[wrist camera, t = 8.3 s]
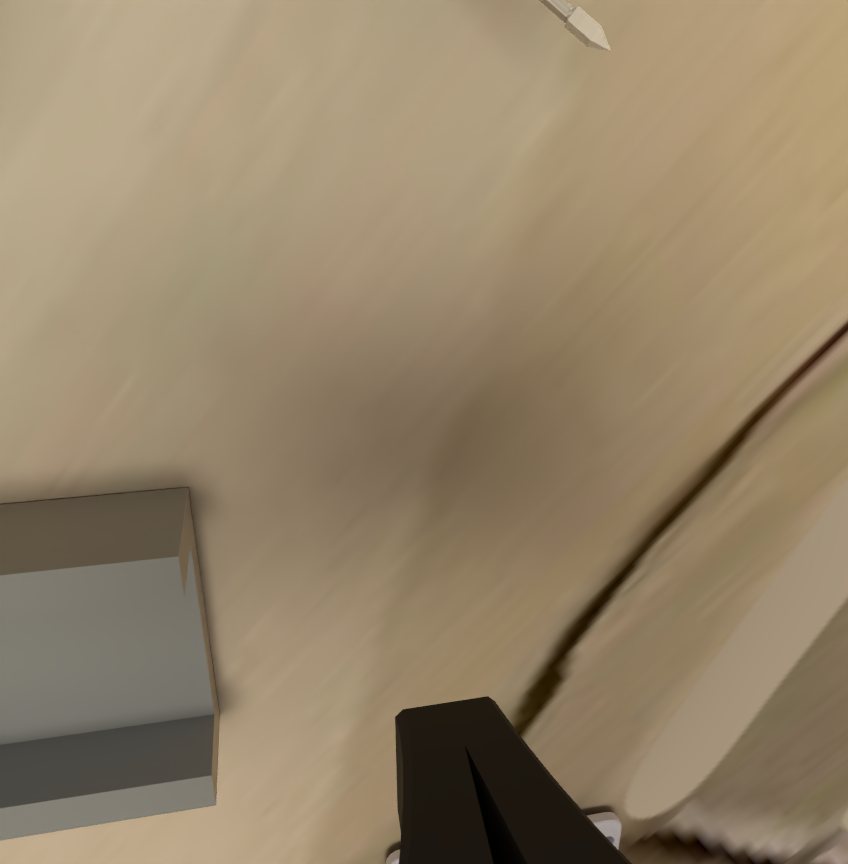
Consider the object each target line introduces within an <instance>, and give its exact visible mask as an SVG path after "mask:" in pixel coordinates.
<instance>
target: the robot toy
mask: <svg viewBox="0 0 848 864" xmlns="http://www.w3.org/2000/svg"><path fill="white" fill-rule="evenodd" d="M540 1H541V2H542V3H543V4H544V5H545V6H547V7H548V8H549V9H550V10H551V11H552V12H553V13H555V14H556V15H557V16H558V17H559V18H560V19H561V20H563V21H564V22H565V23H566V24H565V28H567V29H568V30H569V31H570V32H571V33H572V34H573V35H575V36H576V37H577V38H578V39H579V40H580V41H581V42H583V43H584V44H585V45H586V46H588V47H593V48H598V49H602V50H607V51H611V49H610V47H609V44H608V42H607V39H606V37H605V34H604V32H603V29H602V27H601V25H600V24H599V23H597V22H596V21H595V20H594V19H593V18H592V17H591V16H589V15H588V14H587V13H586V12H585V11H584V10H583V9H581V8H580V7H579V6H578V7H577V8H575V7H574V6H572V5H571V4H570V3H569V2H568V1H567V0H540Z"/></svg>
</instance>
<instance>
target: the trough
mask: <svg viewBox="0 0 848 864" xmlns="http://www.w3.org/2000/svg"><path fill="white" fill-rule="evenodd" d="M219 720H220V714H219V707H218V700H217V692H216V685H215V678H214V671H213V664H212V656H211V649H210V642H209V635H208V628H207V621H206V613H205V606H204V599H203V592H202V585H201V577H200V570H199V563H198V556H197V549H196V542H195V534H194V527H193V520H192V513H191V506H190V498H189V491H188V487H187V488H176V489H165V490H154V491H143V492H132V493H121V494H110V495H99V496H88V497H77V498H66V499H55V500H44V501H33V502H22V503H11V504H0V840H6V839H12V838H18V837H24V836H30V835H37V834H43V833H49V832H55V831H61V830H67V829H73V828H79V827H86V826H92V825H98V824H104V823H110V822H116V821H122V820H128V819H134V818H141V817H147V816H153V815H159V814H165V813H171V812H177V811H183V810H190V809H196V808H202V807H208V806H214V805H216V794H217V769H218V745H219Z"/></svg>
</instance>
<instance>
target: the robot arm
mask: <svg viewBox="0 0 848 864" xmlns="http://www.w3.org/2000/svg"><path fill="white" fill-rule="evenodd" d="M395 725H396V762H397V799H398V814H399V821H400V828H401V845H400V849H399V850H396V851H394V852H393V853H391V854H390V855H389V856H388V858H387V860H386V864H632V863H631V862H630V861H629V860H628V859H627V858H626V857H625V856H624V855H623V854H622V853H621V852H620V851H619V850H618V849H619V842H620V836H621V829H622V826H621V822H620V820H619V818H618V816H617V815H616V814H615V813H612V812H603V813H597V814H592V815H586V814H585V813H584V812H583V811H582V810H581V809H580V808H579V807H578V805H577V804H576V803H575V802H574V801H573V800H572V799H571V797H570V796H569V795H568V794H567V793H566V792H565V791H564V790H563V788H562V787H561V786H560V785H559V784H558V782H557V781H556V780H555V779H554V778H553V776H552V775H551V774H550V773H549V772H548V770H547V769H546V768H545V767H544V765H543V764H542V763H541V762H540V761H539V759H538V758H537V757H536V756H535V754H534V753H533V752H532V751H531V749H530V748H529V747H528V745H527V744H526V743H525V742H524V740H523V739H522V738H521V736H520V735H519V734H518V732H517V731H516V730H515V729H514V727H513V726H512V724H511V723H510V722H509V720H508V719H507V718H506V716H505V715H504V714H503V712H502V711H501V709H500V708H499V706H498V705H497V704H496V702H495V701H493V700H492V699H491V698H490V697H481V698H475V699H468V700H462V701H455V702H449V703H442V704H436V705H429V706H423V707H416V708H410V709H403V710H402V711H401V712H400V713H399V714H398V715H397V716H396V717H395Z"/></svg>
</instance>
